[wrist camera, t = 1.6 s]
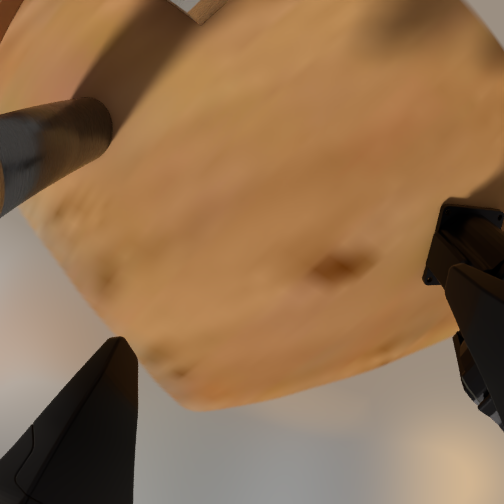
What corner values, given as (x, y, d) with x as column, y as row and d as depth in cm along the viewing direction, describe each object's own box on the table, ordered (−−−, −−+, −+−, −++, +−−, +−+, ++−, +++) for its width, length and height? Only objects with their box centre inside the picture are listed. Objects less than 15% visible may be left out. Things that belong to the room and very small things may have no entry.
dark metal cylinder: (110, 90, 16) (-25, 116, 6) (116, 159, 18) (0, 238, 8) (54, 103, 16) (-76, 143, 6) (62, 166, 18) (-53, 239, 9)
